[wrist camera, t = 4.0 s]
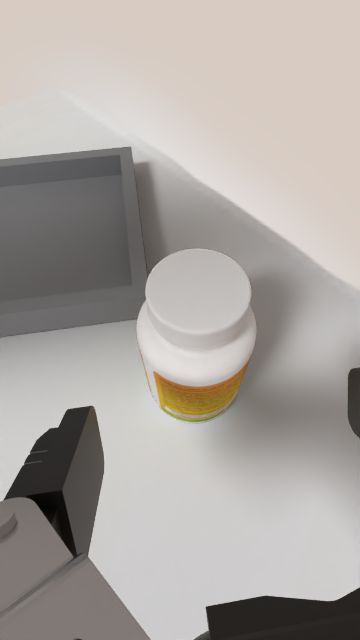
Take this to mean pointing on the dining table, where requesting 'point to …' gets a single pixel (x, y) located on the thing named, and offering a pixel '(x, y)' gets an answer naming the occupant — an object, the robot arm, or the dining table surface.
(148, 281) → the supplement bottle
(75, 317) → the tray
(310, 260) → the dining table surface
